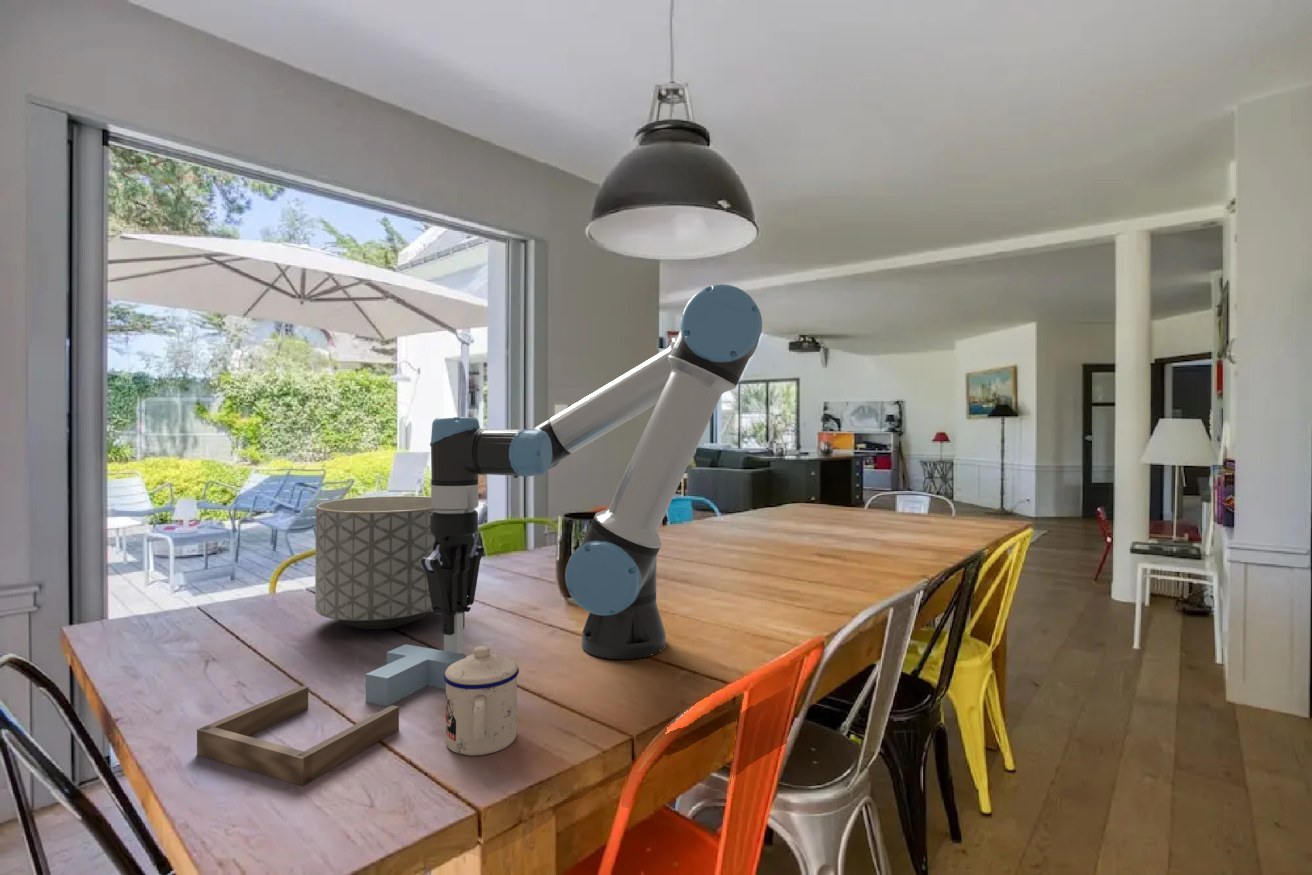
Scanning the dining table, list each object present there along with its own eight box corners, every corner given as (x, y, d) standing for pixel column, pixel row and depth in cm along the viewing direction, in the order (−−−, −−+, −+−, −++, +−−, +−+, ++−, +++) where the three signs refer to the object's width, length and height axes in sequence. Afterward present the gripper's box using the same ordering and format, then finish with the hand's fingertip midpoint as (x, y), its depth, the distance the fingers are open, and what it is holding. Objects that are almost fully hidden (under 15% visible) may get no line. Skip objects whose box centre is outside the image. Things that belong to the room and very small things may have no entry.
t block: (465, 680, 100) (465, 654, 100) (409, 711, 89) (409, 682, 89) (405, 668, 104) (405, 644, 104) (344, 697, 93) (344, 669, 93)
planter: (313, 650, 113) (313, 514, 112) (316, 611, 135) (317, 498, 134) (460, 631, 124) (461, 508, 123) (441, 598, 146) (441, 494, 146)
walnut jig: (398, 729, 83) (399, 706, 83) (302, 785, 70) (302, 758, 70) (302, 706, 90) (302, 685, 90) (196, 754, 77) (196, 729, 77)
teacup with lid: (447, 726, 84) (447, 638, 84) (518, 720, 86) (518, 633, 86) (436, 774, 73) (437, 672, 73) (519, 766, 75) (519, 666, 75)
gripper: (462, 504, 114) (461, 637, 114) (407, 513, 102) (406, 661, 102) (497, 507, 111) (496, 643, 111) (445, 516, 99) (444, 668, 99)
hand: (453, 651), depth 107 cm, fingers closed
